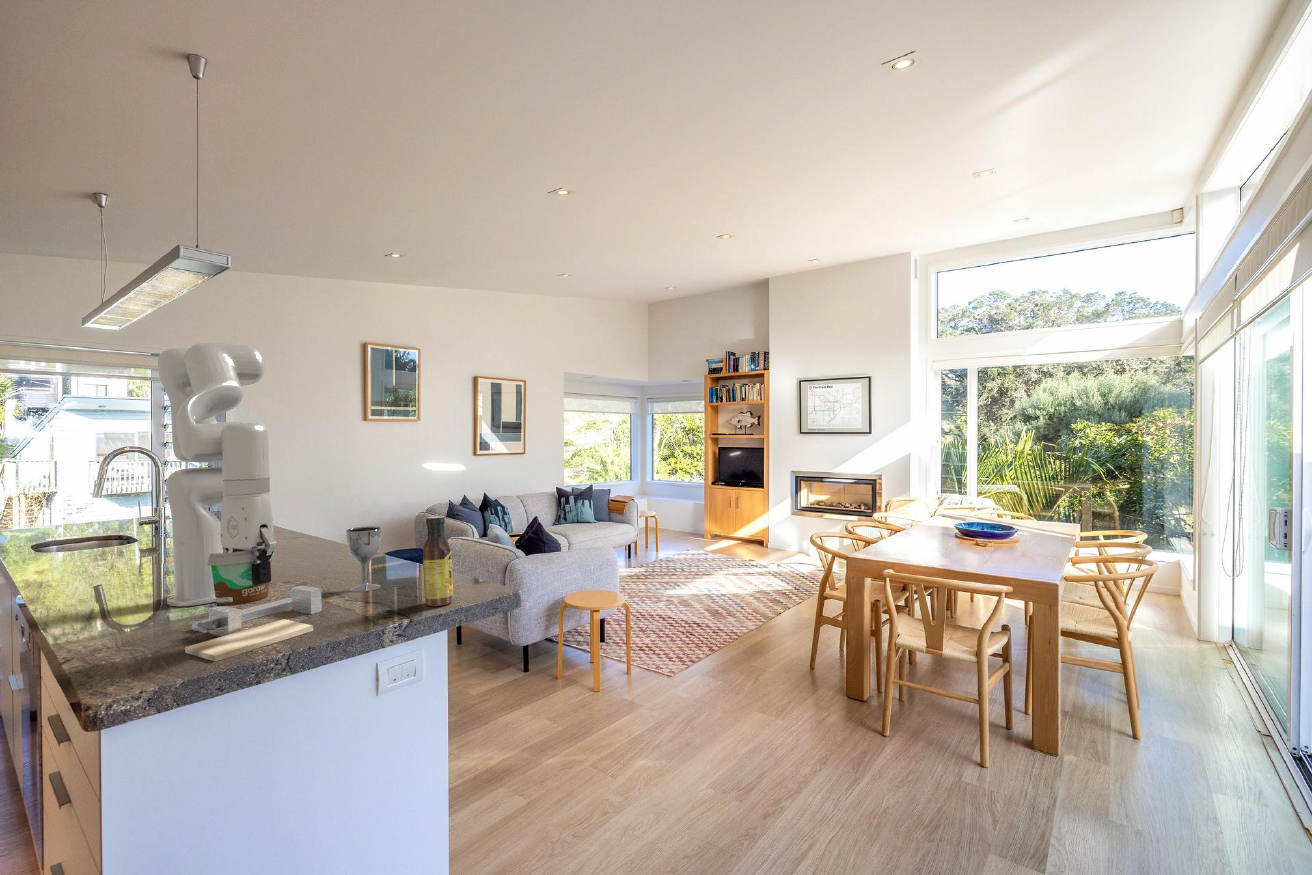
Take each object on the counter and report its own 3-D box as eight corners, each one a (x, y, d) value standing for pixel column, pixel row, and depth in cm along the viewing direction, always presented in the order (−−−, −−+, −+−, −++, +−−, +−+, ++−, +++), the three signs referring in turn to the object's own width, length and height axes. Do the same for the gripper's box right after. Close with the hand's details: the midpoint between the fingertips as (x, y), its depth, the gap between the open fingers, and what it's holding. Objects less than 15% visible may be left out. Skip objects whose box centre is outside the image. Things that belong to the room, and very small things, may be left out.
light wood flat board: (185, 652, 114) (185, 647, 114) (283, 623, 130) (283, 618, 130) (215, 661, 110) (215, 655, 110) (313, 630, 126) (313, 625, 126)
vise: (180, 633, 126) (179, 608, 125) (289, 603, 145) (288, 582, 145) (214, 642, 120) (213, 616, 120) (323, 610, 139) (322, 588, 139)
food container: (237, 609, 113) (235, 554, 113) (209, 608, 114) (207, 554, 114) (290, 591, 125) (288, 541, 125) (264, 590, 126) (262, 541, 126)
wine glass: (341, 591, 155) (339, 531, 154) (361, 583, 163) (359, 526, 162) (370, 592, 154) (368, 531, 153) (389, 584, 161) (387, 526, 161)
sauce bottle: (456, 604, 142) (454, 517, 142) (428, 609, 139) (426, 519, 138) (448, 597, 148) (446, 513, 147) (421, 602, 144) (418, 516, 144)
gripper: (200, 489, 120) (204, 581, 120) (252, 491, 112) (256, 591, 112) (241, 485, 127) (245, 573, 127) (293, 487, 118) (297, 581, 119)
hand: (250, 580), depth 120 cm, fingers closed on food container, 6 cm apart
